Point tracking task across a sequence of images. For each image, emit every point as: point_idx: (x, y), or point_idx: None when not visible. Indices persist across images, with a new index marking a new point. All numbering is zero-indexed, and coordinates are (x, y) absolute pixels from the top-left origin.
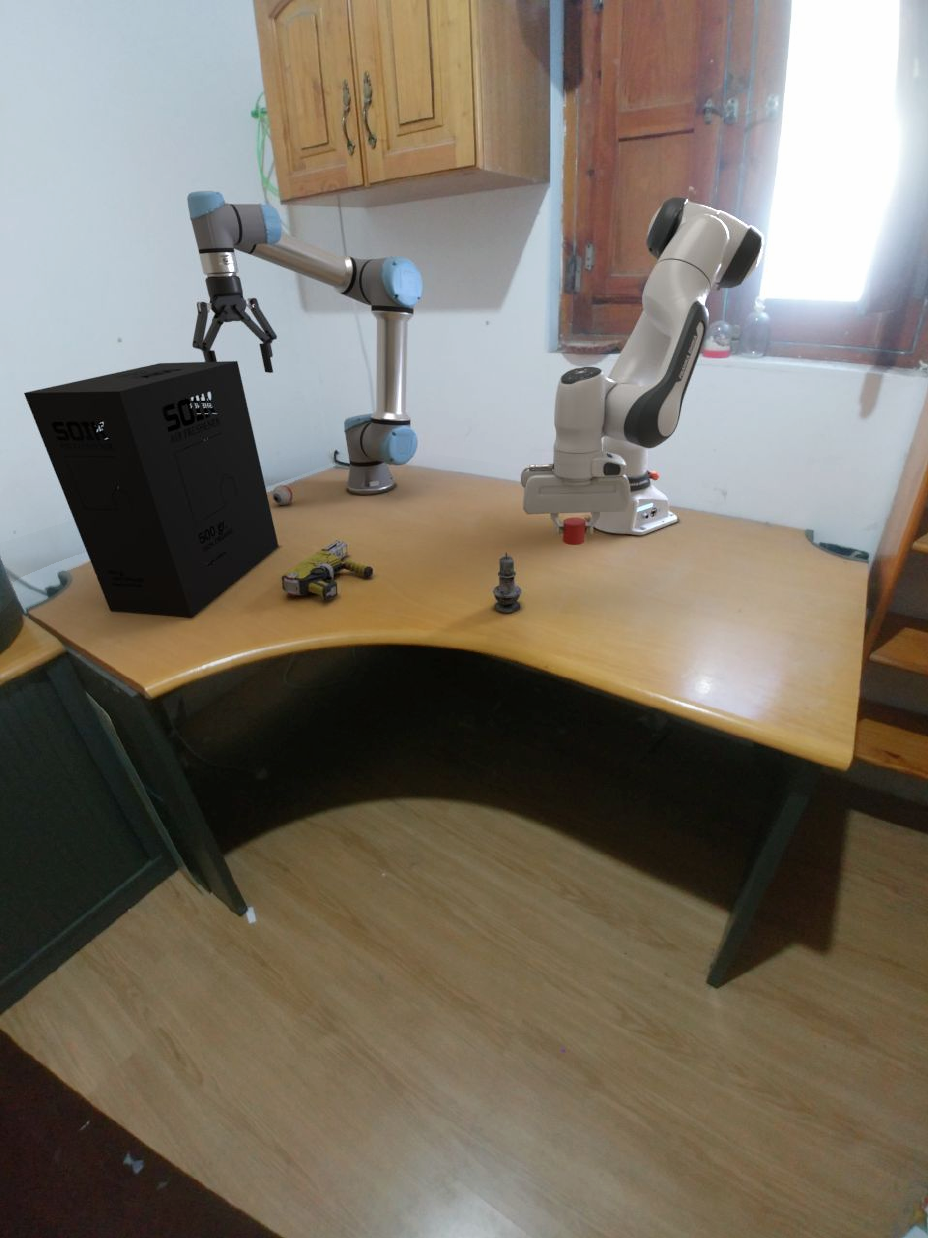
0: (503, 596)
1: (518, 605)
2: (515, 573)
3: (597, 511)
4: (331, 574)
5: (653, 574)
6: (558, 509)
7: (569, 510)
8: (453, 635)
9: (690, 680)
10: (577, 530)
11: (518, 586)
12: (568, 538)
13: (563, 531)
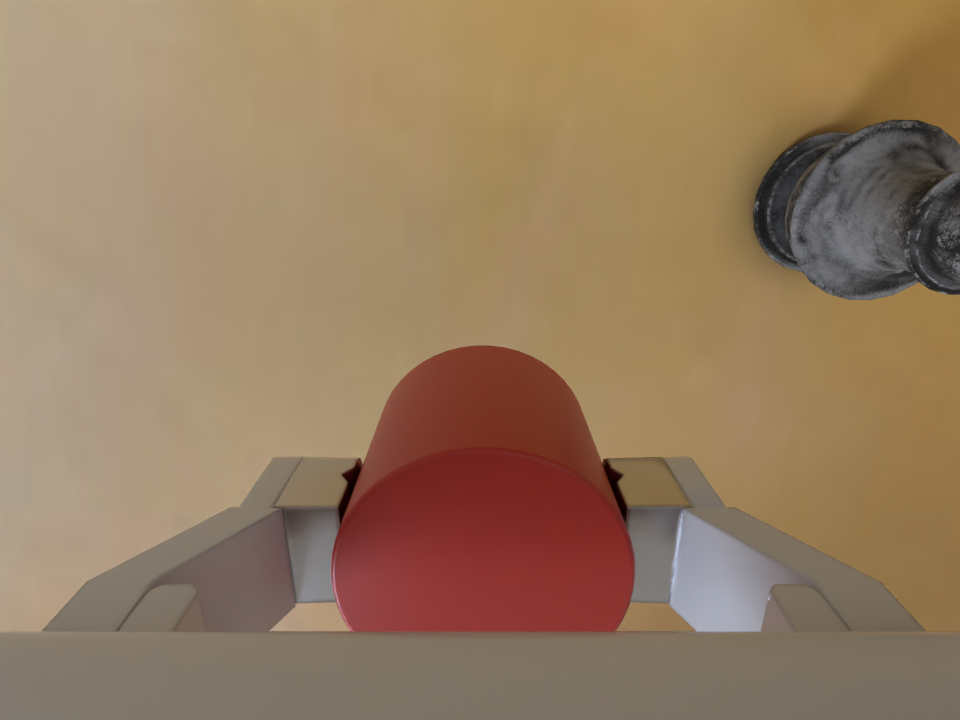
0: (926, 131)
1: (769, 194)
2: (912, 228)
3: (30, 633)
4: None
5: (86, 497)
6: (918, 692)
7: (638, 663)
8: None
9: None
10: (456, 414)
11: (803, 264)
12: (552, 388)
13: (614, 466)
